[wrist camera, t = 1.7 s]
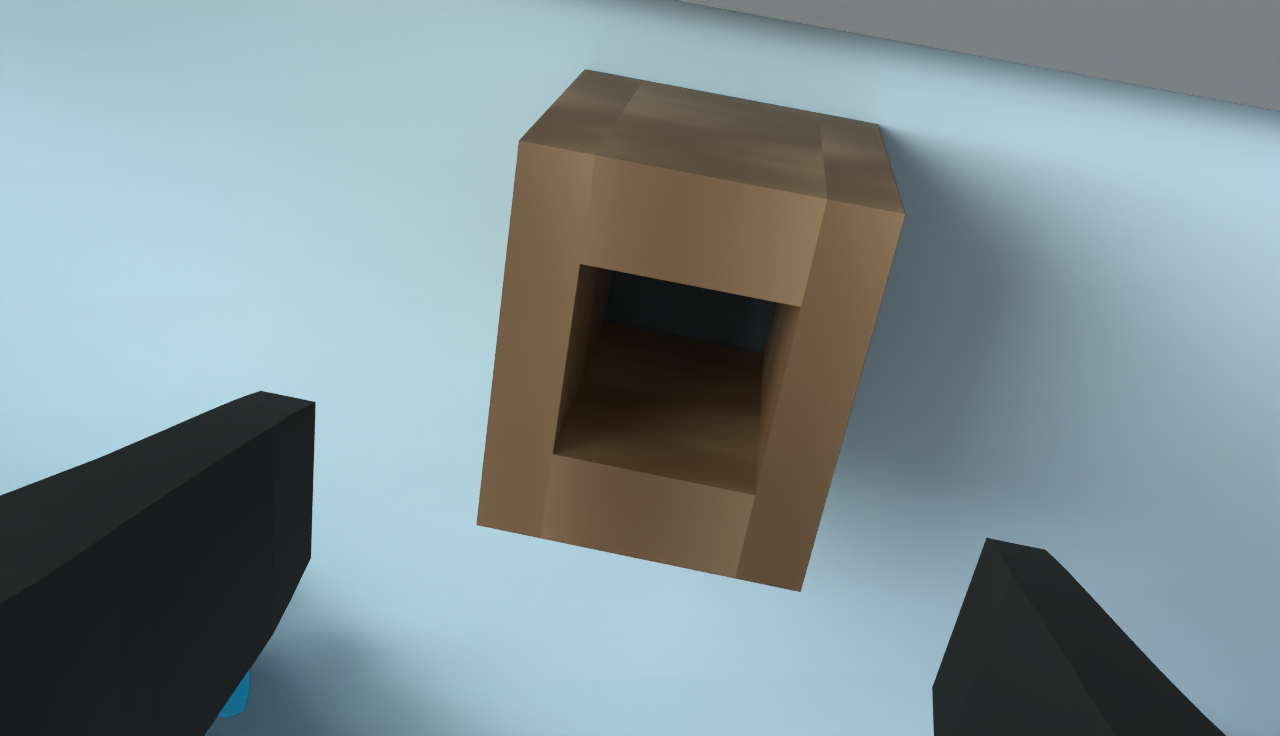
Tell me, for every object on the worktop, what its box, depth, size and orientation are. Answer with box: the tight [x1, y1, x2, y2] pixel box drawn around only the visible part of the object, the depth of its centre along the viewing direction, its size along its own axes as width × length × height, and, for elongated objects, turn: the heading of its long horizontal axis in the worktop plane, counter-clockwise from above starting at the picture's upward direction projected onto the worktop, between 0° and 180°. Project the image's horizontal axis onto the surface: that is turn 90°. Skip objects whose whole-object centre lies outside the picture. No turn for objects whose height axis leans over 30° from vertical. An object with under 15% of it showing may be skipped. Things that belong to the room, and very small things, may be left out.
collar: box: [477, 70, 905, 592], centre depth 18 cm, size 5×6×5 cm
